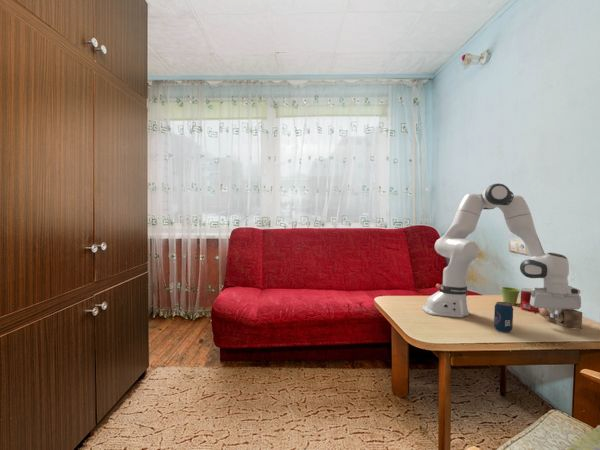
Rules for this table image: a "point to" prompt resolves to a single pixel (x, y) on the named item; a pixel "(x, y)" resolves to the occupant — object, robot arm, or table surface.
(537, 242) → the robot arm
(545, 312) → the terracotta plug
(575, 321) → the socket block
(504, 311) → the soda can
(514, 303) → the plant pot
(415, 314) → the table surface
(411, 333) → the table surface
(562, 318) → the oak plug
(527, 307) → the canned food
